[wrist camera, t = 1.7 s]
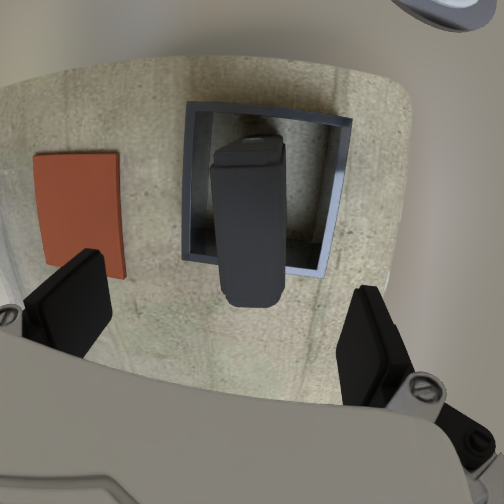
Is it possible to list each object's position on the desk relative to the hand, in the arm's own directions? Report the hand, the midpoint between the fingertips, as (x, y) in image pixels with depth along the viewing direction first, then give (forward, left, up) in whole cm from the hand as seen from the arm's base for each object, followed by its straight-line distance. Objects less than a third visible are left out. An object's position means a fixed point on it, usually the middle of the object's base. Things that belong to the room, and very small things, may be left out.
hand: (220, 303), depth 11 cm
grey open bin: (0, 0, -21) cm, 21 cm away
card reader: (0, 0, -21) cm, 21 cm away
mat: (+6, -22, -21) cm, 31 cm away
